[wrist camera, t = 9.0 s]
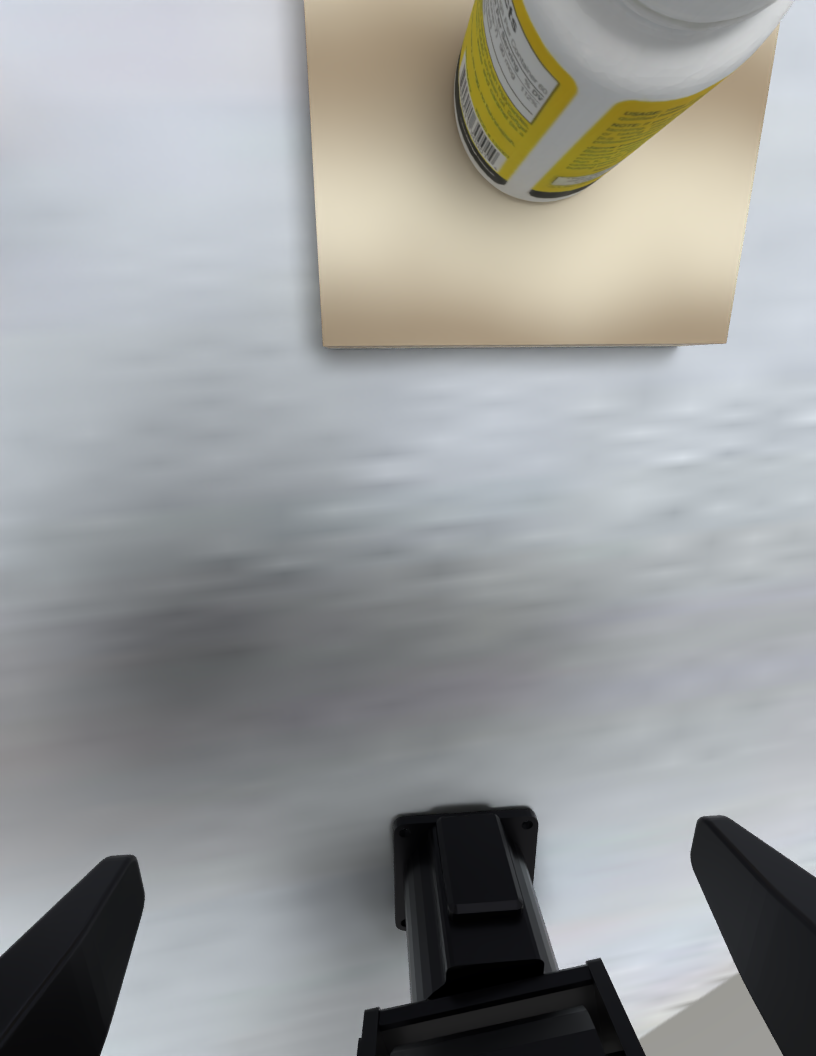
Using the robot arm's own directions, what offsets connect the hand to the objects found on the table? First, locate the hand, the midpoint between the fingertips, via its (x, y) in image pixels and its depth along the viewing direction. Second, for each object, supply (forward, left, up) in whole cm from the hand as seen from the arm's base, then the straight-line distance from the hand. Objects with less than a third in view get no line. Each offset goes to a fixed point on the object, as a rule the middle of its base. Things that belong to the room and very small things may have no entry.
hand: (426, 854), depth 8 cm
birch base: (+14, -4, -12) cm, 19 cm away
